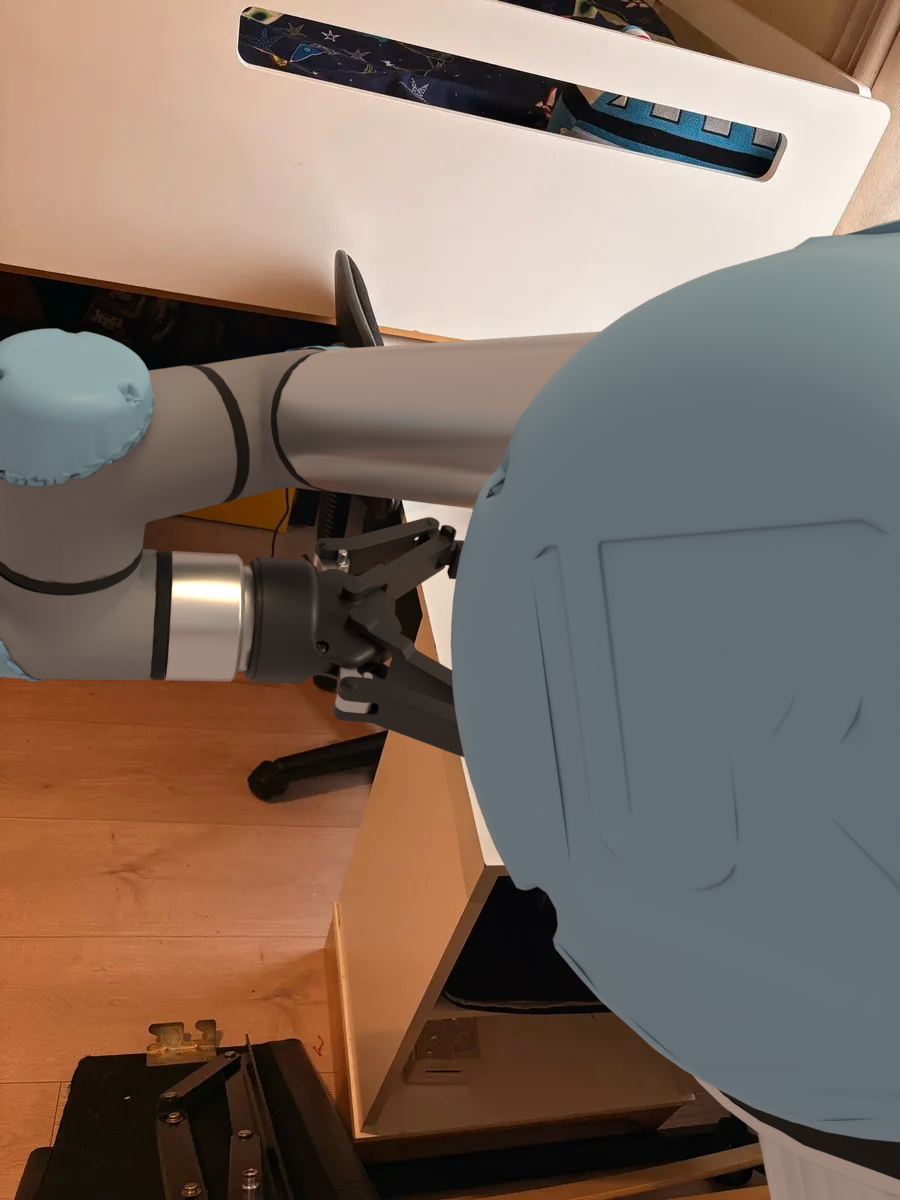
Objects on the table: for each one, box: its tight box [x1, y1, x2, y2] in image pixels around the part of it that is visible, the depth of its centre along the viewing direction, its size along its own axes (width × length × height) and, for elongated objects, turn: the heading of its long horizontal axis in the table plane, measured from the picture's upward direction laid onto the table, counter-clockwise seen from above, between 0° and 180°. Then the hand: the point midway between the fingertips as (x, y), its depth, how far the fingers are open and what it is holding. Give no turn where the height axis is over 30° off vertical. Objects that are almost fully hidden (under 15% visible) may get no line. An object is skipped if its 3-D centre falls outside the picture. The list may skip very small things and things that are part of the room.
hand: (566, 632), depth 60 cm, fingers open, 13 cm apart
